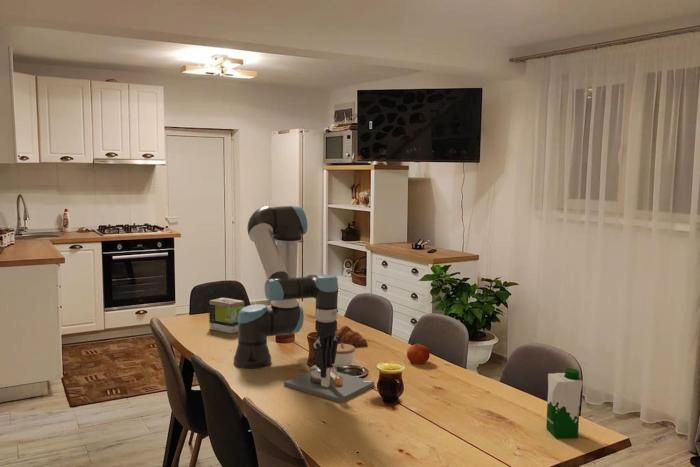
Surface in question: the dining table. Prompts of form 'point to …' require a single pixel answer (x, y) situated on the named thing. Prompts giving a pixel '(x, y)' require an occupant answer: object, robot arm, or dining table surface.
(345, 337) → the pastry
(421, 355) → the tomato
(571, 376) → the milk carton
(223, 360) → the dining table surface
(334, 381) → the grey saucepan
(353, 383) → the base plate
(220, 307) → the tea box
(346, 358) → the lidded jar
